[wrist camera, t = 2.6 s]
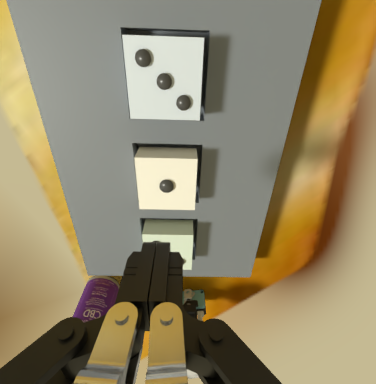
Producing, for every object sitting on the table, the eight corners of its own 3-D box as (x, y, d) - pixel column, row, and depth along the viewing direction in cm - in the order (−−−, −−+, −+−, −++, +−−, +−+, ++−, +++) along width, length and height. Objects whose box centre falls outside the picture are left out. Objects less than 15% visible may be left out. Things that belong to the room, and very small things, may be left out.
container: (114, 273, 32) (67, 417, 20) (123, 293, 35) (87, 433, 22) (82, 276, 33) (16, 420, 20) (93, 296, 35) (41, 436, 22)
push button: (165, 306, 37) (159, 383, 28) (160, 284, 34) (152, 363, 25) (207, 303, 36) (214, 380, 28) (205, 281, 34) (212, 359, 25)
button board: (24, -25, 16) (-6, -40, 14) (306, -14, 17) (328, -26, 14) (96, 256, 31) (88, 275, 28) (244, 258, 31) (250, 277, 29)
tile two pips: (145, 218, 24) (141, 235, 22) (192, 219, 24) (193, 236, 22) (148, 252, 27) (145, 270, 25) (191, 253, 27) (191, 271, 25)
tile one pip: (139, 146, 20) (133, 158, 18) (196, 148, 20) (197, 159, 18) (143, 195, 23) (139, 210, 21) (194, 196, 23) (194, 211, 21)
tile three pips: (130, 37, 16) (121, 34, 14) (201, 39, 16) (204, 37, 14) (136, 111, 19) (129, 119, 16) (198, 113, 19) (199, 121, 16)
